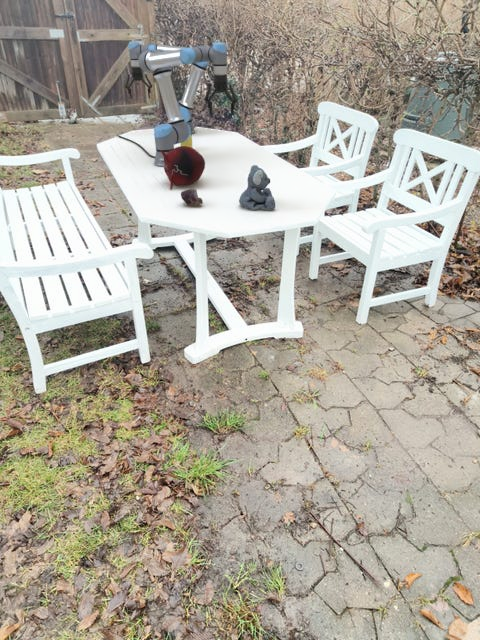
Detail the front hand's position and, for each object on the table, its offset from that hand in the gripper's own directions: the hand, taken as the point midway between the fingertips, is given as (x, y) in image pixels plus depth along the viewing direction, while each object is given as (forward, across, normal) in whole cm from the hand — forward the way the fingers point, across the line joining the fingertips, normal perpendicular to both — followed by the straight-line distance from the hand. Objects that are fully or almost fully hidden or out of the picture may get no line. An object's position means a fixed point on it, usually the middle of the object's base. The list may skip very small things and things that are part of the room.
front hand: (221, 114), depth 268 cm
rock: (+31, -7, +67) cm, 74 cm away
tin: (+31, +39, -33) cm, 60 cm away
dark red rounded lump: (+31, +11, +35) cm, 48 cm away
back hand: (+3, +89, -64) cm, 110 cm away
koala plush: (+31, -39, +59) cm, 77 cm away
